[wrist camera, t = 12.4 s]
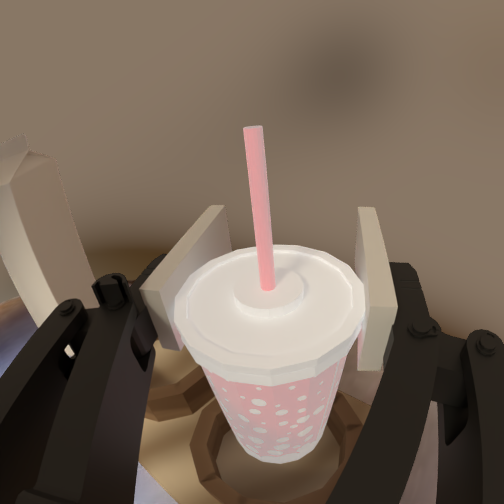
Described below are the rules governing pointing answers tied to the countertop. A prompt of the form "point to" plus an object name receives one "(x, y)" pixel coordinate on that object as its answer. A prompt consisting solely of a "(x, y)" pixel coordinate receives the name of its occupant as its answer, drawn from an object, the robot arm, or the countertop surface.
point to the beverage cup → (271, 330)
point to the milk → (40, 233)
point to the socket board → (231, 444)
